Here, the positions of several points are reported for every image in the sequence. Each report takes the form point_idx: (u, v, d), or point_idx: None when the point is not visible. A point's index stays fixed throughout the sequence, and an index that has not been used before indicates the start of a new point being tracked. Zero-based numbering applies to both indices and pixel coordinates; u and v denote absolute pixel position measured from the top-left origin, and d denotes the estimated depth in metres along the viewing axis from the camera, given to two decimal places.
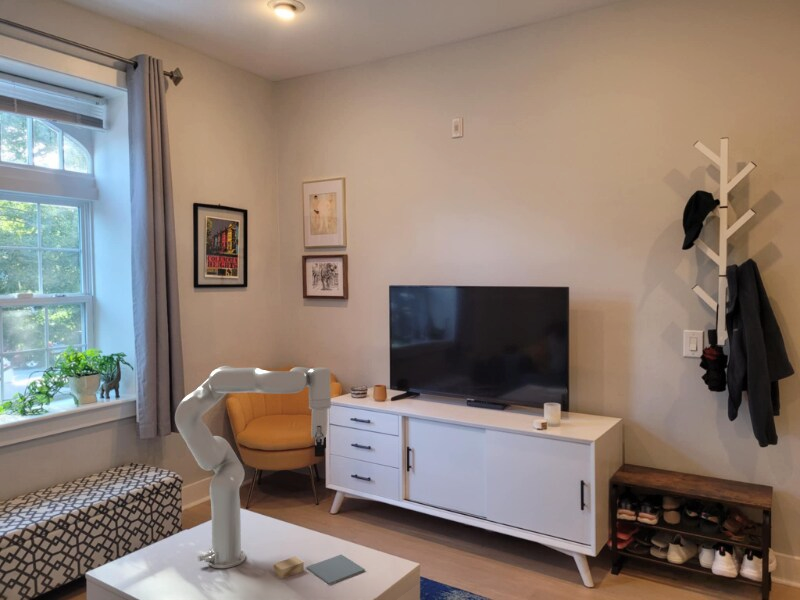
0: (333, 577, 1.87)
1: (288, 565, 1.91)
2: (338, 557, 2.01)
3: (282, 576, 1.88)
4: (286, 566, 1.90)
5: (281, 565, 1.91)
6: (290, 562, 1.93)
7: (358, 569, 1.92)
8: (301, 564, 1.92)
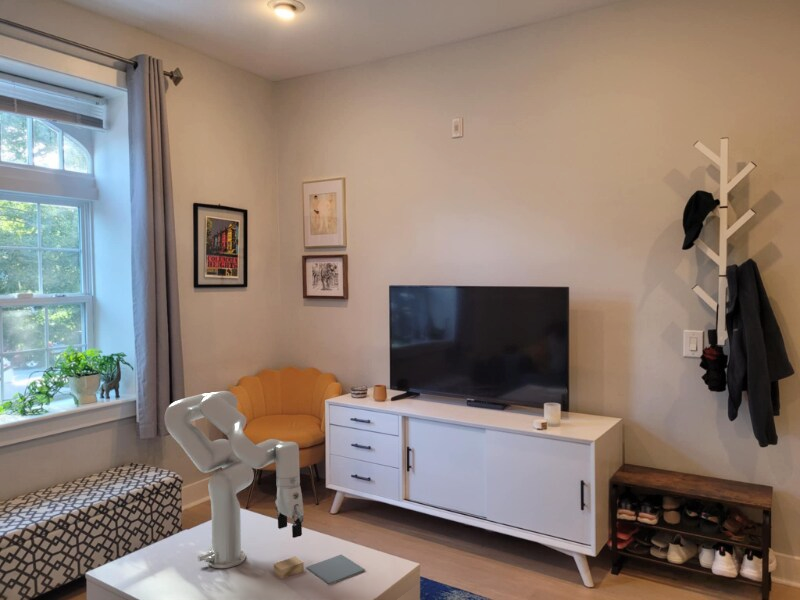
0: (333, 577, 1.87)
1: (287, 565, 1.91)
2: (338, 557, 2.01)
3: (282, 576, 1.88)
4: (286, 566, 1.90)
5: (281, 565, 1.91)
6: (291, 562, 1.93)
7: (358, 569, 1.92)
8: (301, 564, 1.92)
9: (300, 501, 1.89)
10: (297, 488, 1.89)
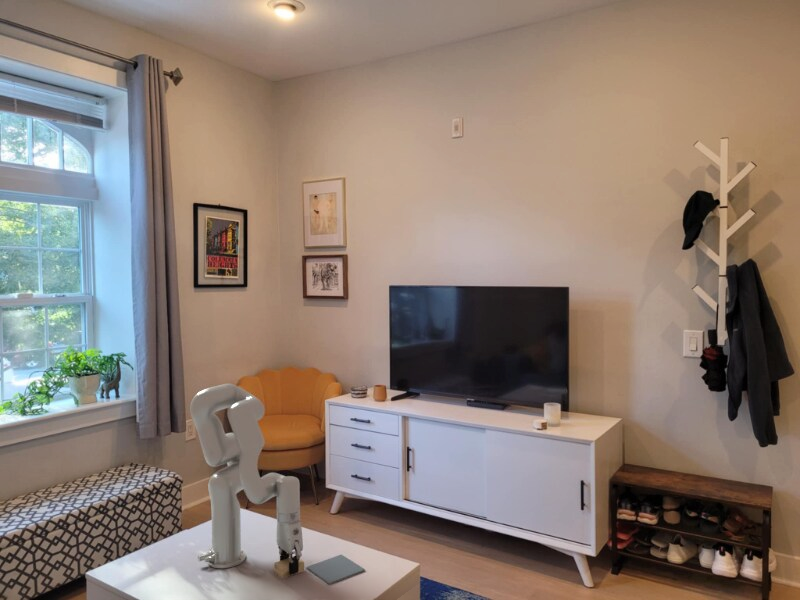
0: (333, 577, 1.87)
1: (288, 564, 1.91)
2: (338, 557, 2.01)
3: (282, 575, 1.88)
4: (287, 565, 1.90)
5: (282, 564, 1.91)
6: None
7: (358, 569, 1.92)
8: (301, 563, 1.92)
9: (300, 537, 1.89)
10: (297, 524, 1.89)
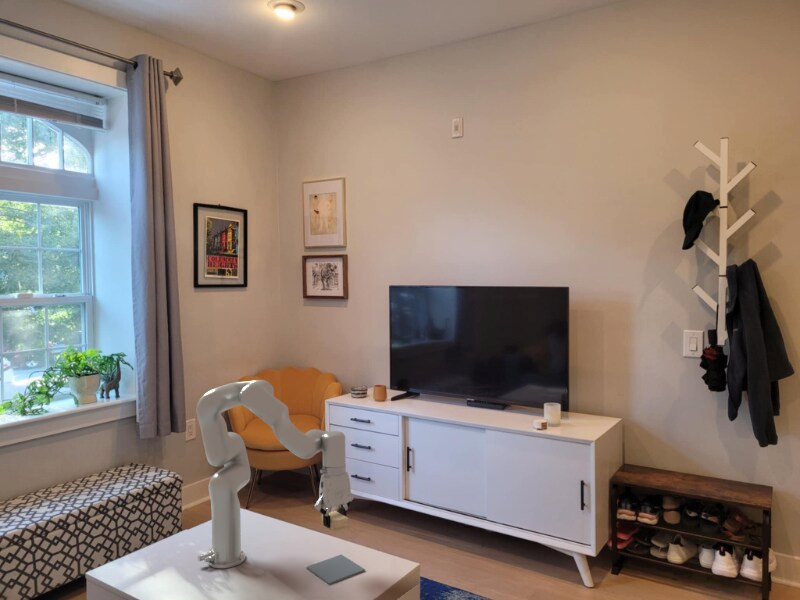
0: (333, 577, 1.87)
1: (330, 516, 1.93)
2: (338, 557, 2.01)
3: (322, 521, 1.94)
4: None
5: (330, 514, 1.95)
6: (336, 517, 1.92)
7: (358, 569, 1.92)
8: (333, 523, 1.89)
9: (324, 492, 1.88)
10: (324, 478, 1.89)
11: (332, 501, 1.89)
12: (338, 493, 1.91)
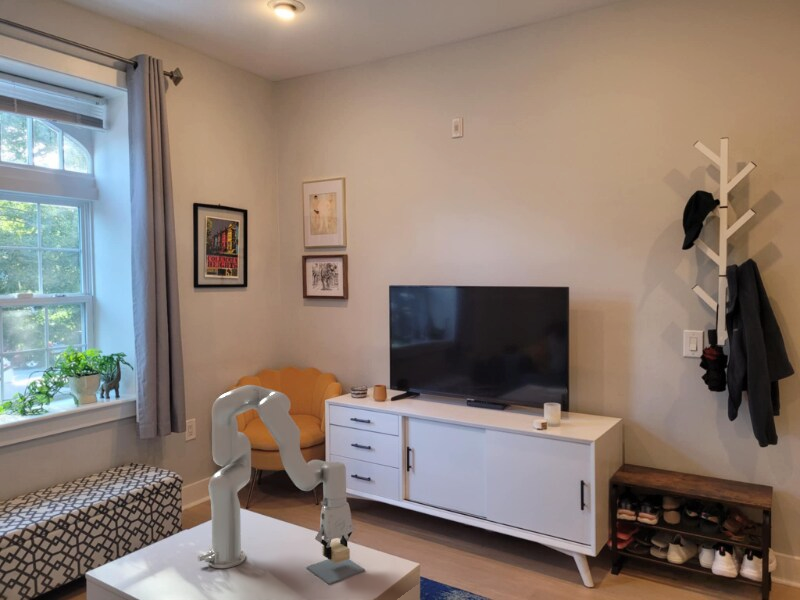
0: (333, 577, 1.87)
1: (331, 547, 1.93)
2: None
3: (323, 552, 1.94)
4: None
5: (331, 544, 1.95)
6: (337, 548, 1.93)
7: (358, 569, 1.92)
8: (334, 554, 1.89)
9: (325, 524, 1.89)
10: (324, 510, 1.89)
11: (333, 533, 1.89)
12: (339, 524, 1.91)
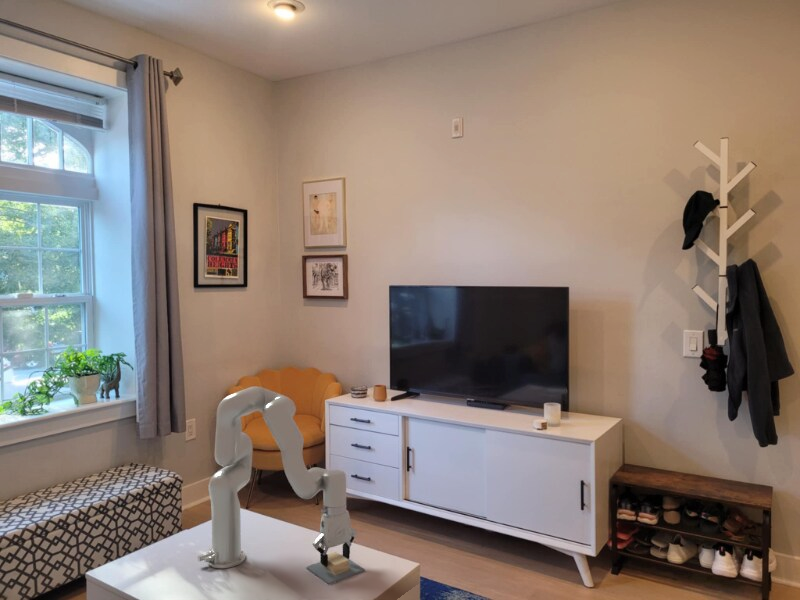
0: (333, 577, 1.87)
1: (330, 558, 1.93)
2: None
3: None
4: None
5: (330, 555, 1.95)
6: (337, 559, 1.93)
7: (358, 569, 1.92)
8: (333, 566, 1.89)
9: (324, 532, 1.89)
10: (324, 518, 1.90)
11: (333, 541, 1.89)
12: (339, 532, 1.91)
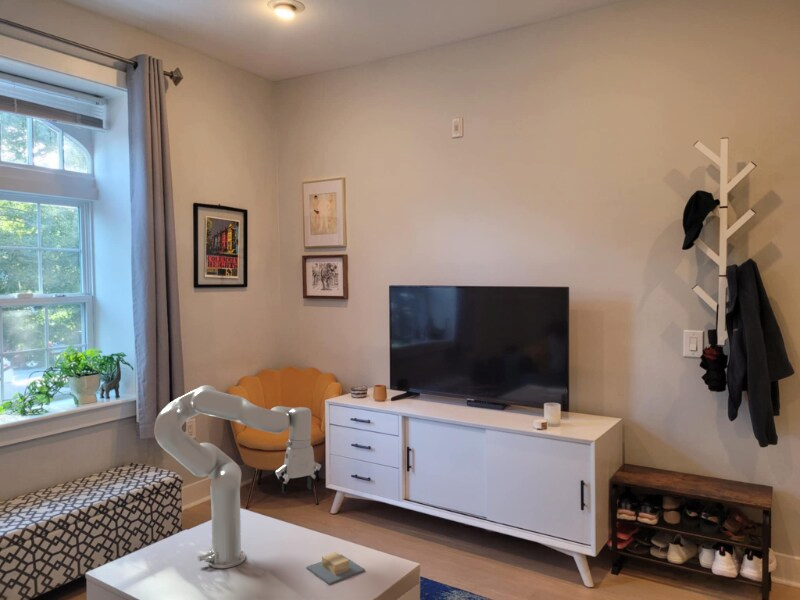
0: (333, 577, 1.87)
1: (330, 558, 1.93)
2: None
3: (322, 563, 1.95)
4: (327, 558, 1.93)
5: (330, 555, 1.95)
6: (337, 559, 1.93)
7: (358, 569, 1.92)
8: (333, 566, 1.89)
9: (288, 463, 2.01)
10: (288, 450, 2.02)
11: (295, 472, 2.01)
12: (302, 464, 2.03)
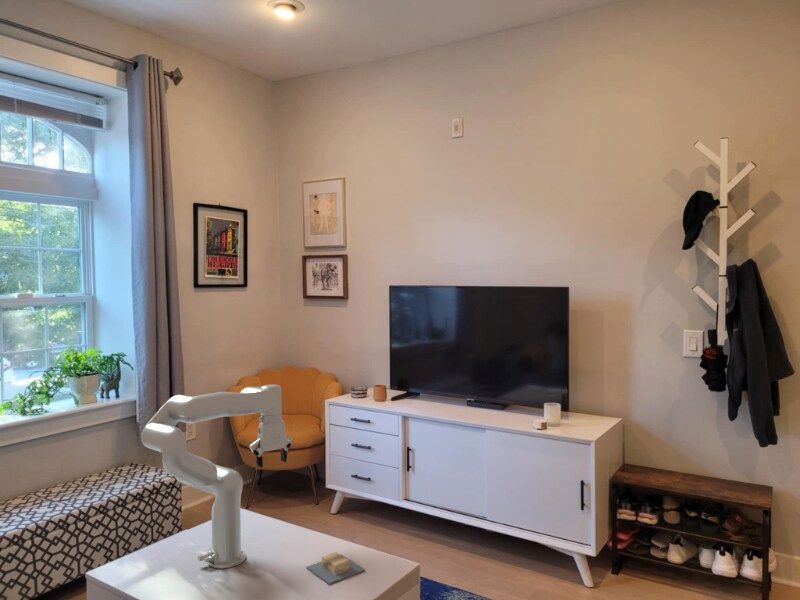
0: (333, 577, 1.87)
1: (330, 558, 1.93)
2: None
3: (322, 563, 1.95)
4: (327, 558, 1.93)
5: (330, 555, 1.95)
6: (337, 559, 1.93)
7: (358, 569, 1.92)
8: (333, 566, 1.89)
9: (261, 437, 2.12)
10: (261, 425, 2.13)
11: (268, 445, 2.13)
12: (274, 438, 2.14)
